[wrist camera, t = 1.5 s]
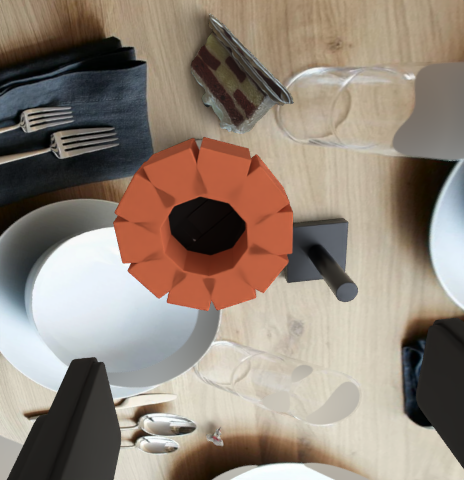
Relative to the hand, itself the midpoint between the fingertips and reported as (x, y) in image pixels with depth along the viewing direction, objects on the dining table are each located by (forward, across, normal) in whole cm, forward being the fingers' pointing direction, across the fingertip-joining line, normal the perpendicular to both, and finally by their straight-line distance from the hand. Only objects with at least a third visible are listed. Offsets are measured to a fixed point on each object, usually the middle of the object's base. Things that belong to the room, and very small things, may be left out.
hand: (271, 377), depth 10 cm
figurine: (+34, +4, +45) cm, 56 cm away
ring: (+15, +1, 0) cm, 15 cm away
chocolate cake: (+35, -3, -8) cm, 36 cm away
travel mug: (+36, +1, 0) cm, 36 cm away
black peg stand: (+35, -13, +13) cm, 40 cm away
